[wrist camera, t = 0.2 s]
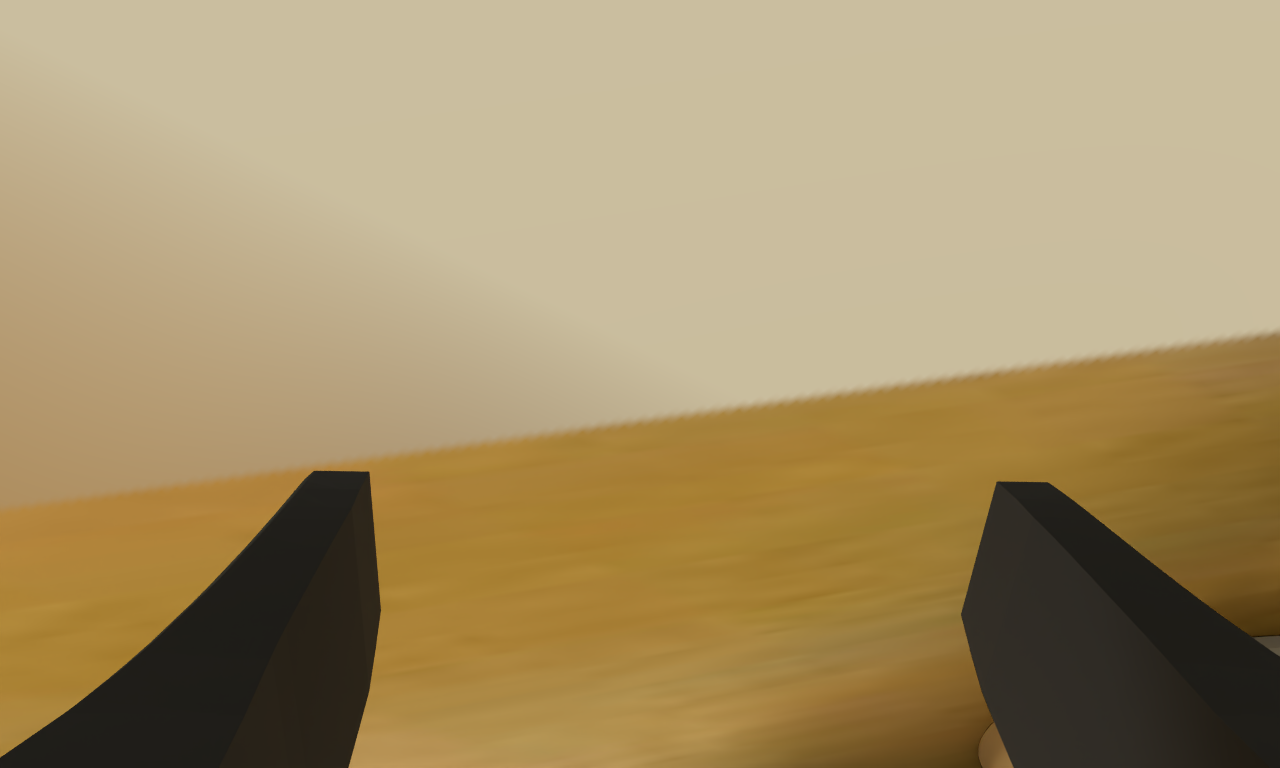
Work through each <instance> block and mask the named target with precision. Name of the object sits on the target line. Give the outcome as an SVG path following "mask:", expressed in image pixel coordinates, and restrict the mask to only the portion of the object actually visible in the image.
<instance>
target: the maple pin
mask: <svg viewBox="0 0 1280 768" xmlns="http://www.w3.org/2000/svg"><path fill="white" fill-rule="evenodd" d="M978 757H979V760H980V763H981V766H982V768H1013V765H1012V763H1011V761H1010V758H1009V756H1008V754H1007V751H1006V749H1005V747H1004V744H1003V742H1002V739H1001V737H1000V735H999V732H998V730H997V727H996V725H995V723H993V724H991V725H990V727H989V728H988V729H987V730H986V731H985V733H984V734H983V736H982V738H981V740H980V743H979V747H978Z"/></svg>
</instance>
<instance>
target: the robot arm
mask: <svg viewBox="0 0 1280 768" xmlns="http://www.w3.org/2000/svg"><path fill="white" fill-rule="evenodd" d="M380 613H381V606H380V594H379V582H378V570H377V558H376V546H375V534H374V522H373V510H372V498H371V486H370V474H369V472H355V471H313V472H312V473H311V474H310V475H309V476H308V477H307V478H305V479H304V481H303V482H302V483H301V484H300V485H299V486H298V488H297V489H296V490H295V491H294V492H293V494H292V495H291V496H290V497H289V498H288V499H287V501H286V502H285V503H284V504H283V505H282V507H281V508H280V509H279V510H278V511H277V512H276V514H275V515H274V516H273V517H272V518H271V519H270V520H269V522H268V523H267V524H266V525H265V526H264V527H263V528H262V530H261V531H260V532H259V533H258V534H257V535H256V536H255V537H254V539H253V540H252V541H251V542H250V543H249V544H248V545H247V546H246V548H245V549H244V550H243V551H242V552H241V553H240V554H239V555H238V556H237V557H236V558H235V559H234V560H233V561H232V562H231V563H230V565H229V566H228V567H227V568H226V569H225V570H224V571H223V572H222V573H221V574H220V575H219V576H218V577H217V578H216V579H215V580H214V582H213V583H212V584H211V585H210V586H209V587H208V588H207V589H206V590H205V591H204V592H203V593H202V594H201V595H200V596H199V597H198V598H197V599H196V600H195V601H194V602H193V603H192V604H191V605H190V606H188V607H187V608H186V609H185V610H184V611H183V612H182V613H181V614H180V615H179V616H178V617H177V618H176V619H175V620H174V621H173V622H172V623H171V624H170V625H168V626H167V627H166V628H165V629H164V630H163V631H162V632H161V633H160V634H159V635H158V636H157V637H156V638H155V639H154V640H153V641H152V642H151V643H149V644H148V645H147V646H146V647H145V648H144V649H143V650H142V651H140V652H139V653H138V654H137V655H136V656H135V657H134V658H132V659H131V660H130V661H129V662H128V663H127V664H126V665H124V666H123V667H122V668H121V669H120V670H118V671H117V672H116V673H115V674H114V675H112V676H111V677H110V678H109V679H108V680H106V681H105V682H104V683H103V684H101V685H100V686H99V687H98V688H96V689H95V690H94V691H93V692H91V693H90V694H89V695H88V696H86V697H85V698H84V699H83V700H81V701H80V702H79V703H78V704H76V705H75V706H74V707H72V708H71V709H70V710H68V711H67V712H66V713H64V714H63V715H61V716H60V717H58V718H57V719H56V720H54V721H53V722H51V723H50V724H48V725H47V726H45V727H44V728H42V729H41V730H40V731H38V732H37V733H35V734H34V735H32V736H31V737H29V738H28V739H27V740H25V741H24V742H22V743H21V744H19V745H18V746H16V747H15V748H14V749H12V750H11V751H9V752H8V753H6V754H5V755H3V756H2V757H0V768H348V767H349V764H350V760H351V756H352V753H353V749H354V745H355V742H356V738H357V734H358V731H359V727H360V723H361V719H362V716H363V712H364V708H365V705H366V701H367V697H368V693H369V689H370V682H371V676H372V669H373V662H374V656H375V649H376V642H377V634H378V627H379V620H380ZM961 616H962V620H963V624H964V628H965V632H966V636H967V639H968V643H969V647H970V651H971V655H972V659H973V663H974V666H975V670H976V673H977V677H978V680H979V683H980V687H981V690H982V693H983V696H984V698H985V701H986V703H987V706H988V708H989V711H990V713H991V716H992V718H993V720H994V723H995V725H996V727H997V730H998V732H999V735H1000V737H1001V739H1002V742H1003V744H1004V747H1005V749H1006V751H1007V754H1008V756H1009V758H1010V761H1011V763H1012V765H1013V768H1280V656H1278V655H1277V654H1275V653H1274V652H1272V651H1271V650H1270V649H1268V648H1267V647H1265V646H1264V645H1262V644H1261V643H1260V642H1258V641H1257V640H1255V639H1254V638H1252V637H1251V636H1250V635H1248V634H1247V633H1245V632H1244V631H1242V630H1241V629H1240V628H1238V627H1237V626H1235V625H1234V624H1232V623H1231V622H1230V621H1228V620H1227V619H1225V618H1224V617H1223V616H1221V615H1220V614H1218V613H1217V612H1216V611H1214V610H1213V609H1212V608H1210V607H1209V606H1208V605H1206V604H1205V603H1204V602H1202V601H1201V600H1199V599H1198V598H1197V597H1195V596H1194V595H1193V594H1192V593H1190V592H1189V591H1188V590H1186V589H1185V588H1184V587H1182V586H1181V585H1180V584H1178V583H1177V582H1176V581H1175V580H1173V579H1172V578H1171V577H1169V576H1168V575H1167V574H1166V573H1164V572H1163V571H1162V570H1160V569H1159V568H1158V567H1157V566H1155V565H1154V564H1153V563H1151V562H1150V561H1149V560H1148V559H1146V558H1145V557H1144V556H1143V555H1141V554H1140V553H1139V552H1138V551H1136V550H1135V549H1134V548H1133V547H1131V546H1130V545H1129V544H1127V543H1126V542H1125V541H1124V540H1122V539H1121V538H1120V537H1119V536H1117V535H1116V534H1115V533H1114V532H1112V531H1111V530H1110V529H1109V528H1107V527H1106V526H1105V525H1104V524H1102V523H1101V522H1100V521H1099V520H1097V519H1096V518H1095V517H1094V516H1092V515H1091V514H1090V513H1089V512H1087V511H1086V510H1085V509H1083V508H1082V507H1081V506H1080V505H1078V504H1077V503H1076V502H1074V501H1073V500H1072V499H1070V498H1069V497H1068V496H1066V495H1065V494H1064V493H1062V492H1061V491H1060V490H1058V489H1057V488H1055V487H1054V486H1052V485H1051V484H1050V483H1048V482H997V483H996V486H995V490H994V494H993V498H992V501H991V505H990V509H989V513H988V516H987V520H986V524H985V527H984V531H983V535H982V539H981V542H980V546H979V550H978V554H977V557H976V561H975V565H974V568H973V572H972V576H971V580H970V583H969V587H968V591H967V595H966V598H965V602H964V606H963V609H962V613H961Z"/></svg>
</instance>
